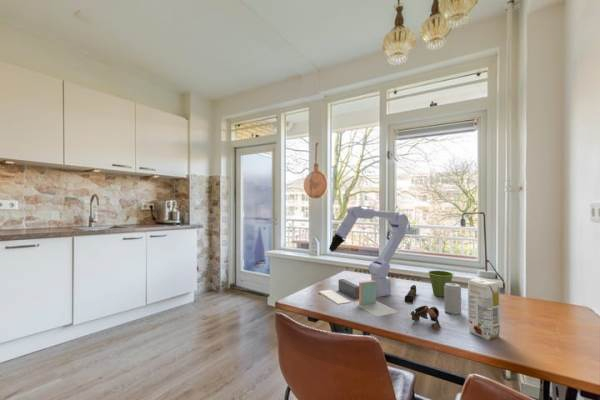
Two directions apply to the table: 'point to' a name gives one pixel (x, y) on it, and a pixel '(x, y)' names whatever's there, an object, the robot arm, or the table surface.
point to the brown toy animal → (423, 312)
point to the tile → (367, 292)
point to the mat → (377, 309)
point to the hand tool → (411, 294)
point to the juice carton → (484, 308)
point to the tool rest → (334, 297)
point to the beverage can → (452, 298)
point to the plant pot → (439, 281)
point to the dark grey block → (349, 288)
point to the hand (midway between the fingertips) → (331, 250)
